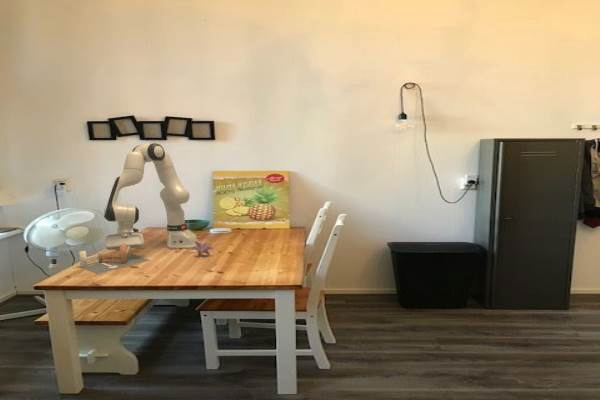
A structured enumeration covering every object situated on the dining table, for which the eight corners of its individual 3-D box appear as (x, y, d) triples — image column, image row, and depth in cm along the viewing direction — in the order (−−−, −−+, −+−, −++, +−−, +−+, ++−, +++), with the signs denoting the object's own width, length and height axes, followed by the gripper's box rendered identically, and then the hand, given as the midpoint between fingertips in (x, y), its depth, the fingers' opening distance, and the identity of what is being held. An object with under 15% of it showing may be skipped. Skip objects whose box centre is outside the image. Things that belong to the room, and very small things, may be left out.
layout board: (150, 260, 217) (150, 259, 217) (97, 274, 194) (97, 273, 194) (130, 255, 230) (130, 254, 230) (78, 267, 207) (78, 266, 207)
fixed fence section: (103, 262, 213) (102, 248, 212) (82, 267, 204) (80, 252, 203) (101, 261, 215) (99, 247, 214) (79, 266, 206) (78, 251, 205)
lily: (216, 258, 224) (216, 242, 228) (202, 255, 215) (202, 238, 218) (201, 262, 229) (201, 246, 233) (187, 259, 220) (187, 243, 223)
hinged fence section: (125, 262, 211) (124, 245, 210) (101, 262, 212) (99, 245, 211) (128, 261, 214) (127, 243, 213) (104, 260, 215) (103, 243, 214)
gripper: (105, 232, 216) (103, 253, 208) (143, 229, 223) (143, 249, 215) (106, 237, 221) (105, 258, 213) (144, 235, 228) (144, 255, 220)
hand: (124, 254), depth 214 cm, fingers closed, pressing on hinged fence section
